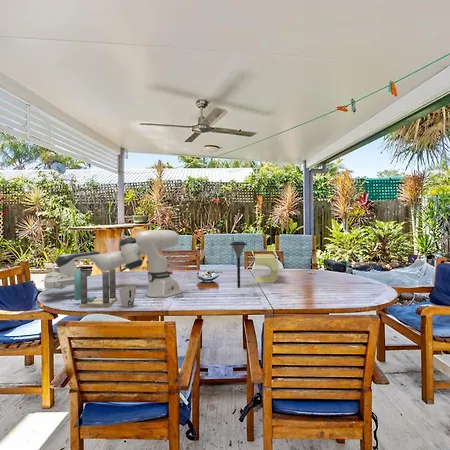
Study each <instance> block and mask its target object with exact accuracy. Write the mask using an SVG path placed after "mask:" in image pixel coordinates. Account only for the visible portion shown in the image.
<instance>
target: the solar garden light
mask: <svg viewBox="0 0 450 450" xmlns="http://www.w3.org/2000/svg"><path fill="white" fill-rule="evenodd" d="M229 246H232V248H233V251H234V253H235V256H236V258H237V259H236V263H237V264H236V267H237V268H236V269H237V275H236V276H237V278H236V280H237V281H236V282H237V284H236V285H237V289H240V288H241V255H242V253H243V251H244V248H245V246H248V244H247V242H244V241H233V242H231V243H230V244H229Z"/></svg>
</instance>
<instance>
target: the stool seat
mask: <svg viewBox="0 0 450 450" xmlns="http://www.w3.org/2000/svg"><path fill="white" fill-rule="evenodd" d="M101 278H102V297H101V296H99V297H97V296H93V297H94V300H93V301H88V300H87V298H88V272H86V271H84V272H83V271H81V273H80V280H81V300H80V303H79V304H78V305H79V308H80V309H93V308H95V309H100V308H103V309H105V308H110V307H112V305H114V304H115V303H116V302H118V297H117V295H116V293H117V292H116V291H117V289H116V287H117V286H116V285H117V284H116V283H117V282H116V268H114V269H109V270H108V271H103V272H102V277H101Z"/></svg>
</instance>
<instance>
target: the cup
mask: <svg viewBox="0 0 450 450" xmlns="http://www.w3.org/2000/svg"><path fill="white" fill-rule="evenodd" d="M119 298H120V303H121V305H122V307H123V308H125V309H126V308H133V307H134V303H135V298H136V286H134V285H124V286H120V287H119Z"/></svg>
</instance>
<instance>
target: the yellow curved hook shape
mask: <svg viewBox="0 0 450 450" xmlns="http://www.w3.org/2000/svg"><path fill="white" fill-rule="evenodd" d="M276 258H277V257H276V256H275V254H273V253H259V254H258V253H257V254H256V253H255V254H254V266H263V267H267V268H269V269H270V273H269V274H268V275H263V276H255V277H254V280H255V281H254V283H275V282H277V280H278V276H279V275H278V274H279V273H278V271H279V268H280V267H279V261H278V260H277V259H276Z"/></svg>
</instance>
